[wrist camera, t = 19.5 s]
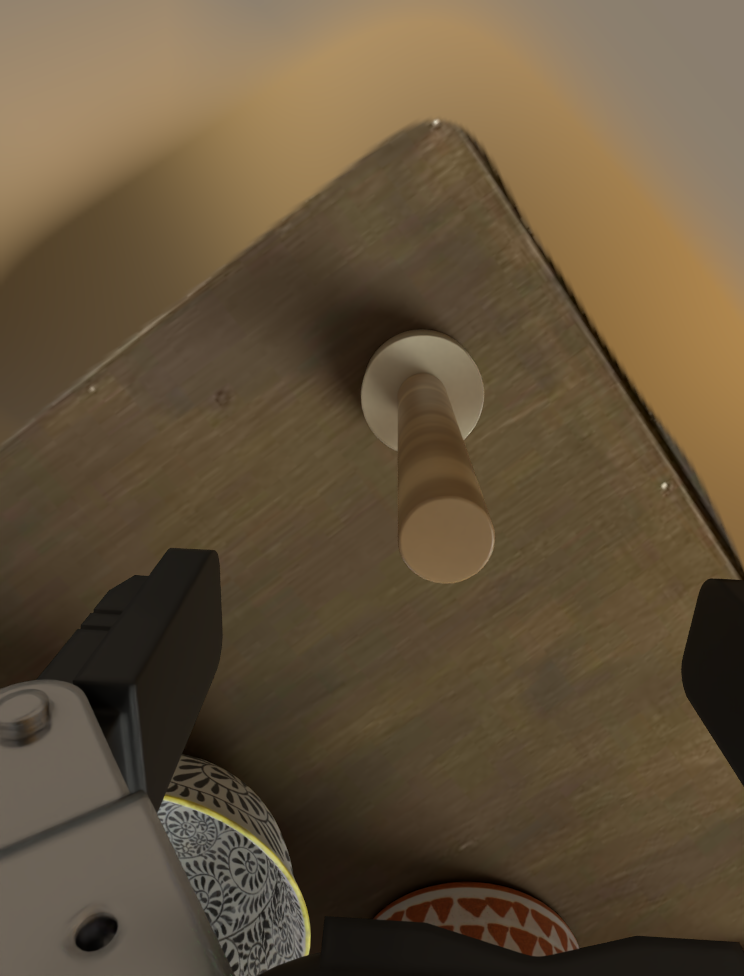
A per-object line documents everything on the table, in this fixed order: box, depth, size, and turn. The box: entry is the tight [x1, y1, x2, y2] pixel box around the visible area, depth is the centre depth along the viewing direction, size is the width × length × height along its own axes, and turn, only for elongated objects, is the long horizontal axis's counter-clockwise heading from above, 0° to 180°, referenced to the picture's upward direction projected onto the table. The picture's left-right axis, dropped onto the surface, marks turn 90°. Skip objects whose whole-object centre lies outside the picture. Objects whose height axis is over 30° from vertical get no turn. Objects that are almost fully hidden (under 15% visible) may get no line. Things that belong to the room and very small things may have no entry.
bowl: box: [157, 754, 311, 976], centre depth 33 cm, size 16×16×8 cm
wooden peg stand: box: [361, 329, 495, 583], centre depth 21 cm, size 5×5×16 cm
